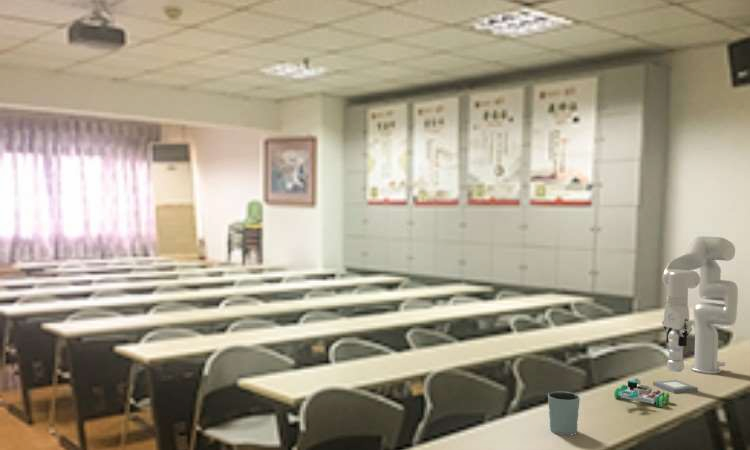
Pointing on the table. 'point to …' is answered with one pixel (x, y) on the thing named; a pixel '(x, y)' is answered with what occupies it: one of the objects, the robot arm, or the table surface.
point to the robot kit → (641, 393)
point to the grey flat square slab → (675, 386)
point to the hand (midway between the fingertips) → (676, 343)
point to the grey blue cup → (563, 412)
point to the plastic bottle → (675, 352)
